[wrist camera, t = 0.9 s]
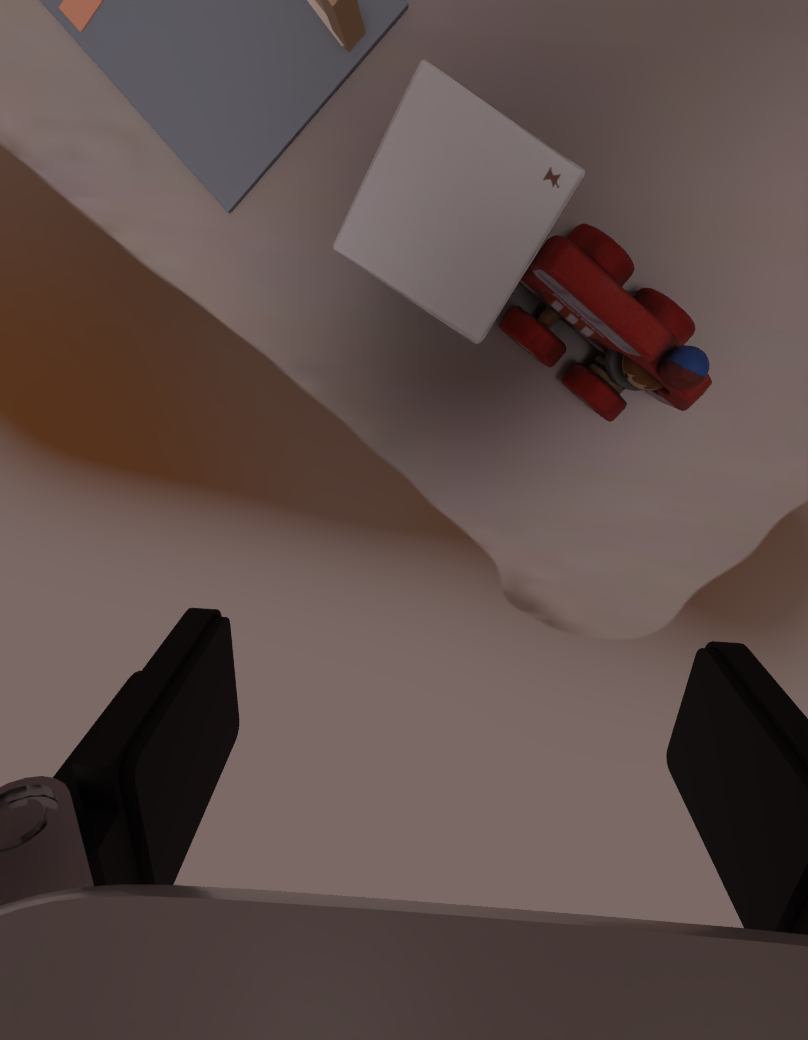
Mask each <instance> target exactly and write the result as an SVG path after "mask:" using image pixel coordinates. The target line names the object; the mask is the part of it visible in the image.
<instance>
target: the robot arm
mask: <svg viewBox="0 0 808 1040" xmlns="http://www.w3.org/2000/svg"><path fill="white" fill-rule="evenodd" d="M238 730H239V712H238V701H237V691H236V680H235V670H234V659H233V650H232V638H231V629H230V621H229V619H228V618H227V617H222V616H221V613H220V611H219V610H216V609H200V608H189V609H188V610H187V611H186V612H185V614H184V615H183V616H182V618H181V619H180V620H179V622H178V623H177V624H176V626H175V627H174V628H173V630H172V631H171V632H170V634H169V635H168V636H167V638H166V639H165V640H164V642H163V643H162V645H161V646H160V647H159V648H158V650H157V651H156V652H155V654H154V655H153V657H152V658H151V659H150V660H149V662H148V663H147V665H146V666H145V667H144V668H143V670H142V671H138V672H135V673H134V674H133V675H132V676H131V677H130V678H129V679H128V680H127V682H126V683H125V684H124V686H123V687H122V688H121V689H120V691H119V692H118V693H117V695H116V696H115V697H114V699H113V700H112V701H111V702H110V704H109V705H108V706H107V708H106V709H105V710H104V712H103V713H102V714H101V716H100V717H99V718H98V719H97V721H96V722H95V724H94V725H93V726H92V727H91V729H90V730H89V731H88V733H87V734H86V735H85V736H84V738H83V739H82V740H81V742H80V743H79V744H78V746H77V747H76V748H75V749H74V751H73V752H72V753H71V755H70V756H69V757H68V759H67V760H66V761H65V763H64V764H63V765H62V766H61V768H60V769H59V770H58V772H57V773H56V774H55V776H54V777H53V778H51V777H44V776H39V777H30V778H24V779H20V780H17V781H14V782H10V783H8V784H6V785H4V786H2V787H0V1040H808V719H807V717H806V716H805V715H804V714H803V713H802V711H801V710H800V709H799V708H798V707H797V706H796V704H795V703H794V702H793V701H792V700H791V698H790V697H789V696H788V695H787V694H786V693H785V691H784V690H783V689H782V688H781V687H780V686H779V684H778V683H777V682H776V681H775V680H774V679H773V677H772V676H771V675H770V674H769V673H768V671H767V670H766V669H765V668H764V667H763V666H762V664H761V663H760V662H759V661H758V660H757V658H756V657H755V656H754V655H753V654H752V652H751V651H750V650H749V649H748V648H747V647H746V646H745V645H744V644H741V643H728V642H713V641H712V642H709V643H708V644H707V645H706V647H705V648H701V649H699V650H698V651H697V653H696V656H695V659H694V662H693V666H692V669H691V672H690V676H689V679H688V682H687V686H686V689H685V693H684V696H683V699H682V702H681V706H680V709H679V712H678V716H677V719H676V722H675V726H674V729H673V732H672V736H671V739H670V742H669V746H668V749H667V764H668V768H669V771H670V773H671V775H672V777H673V780H674V781H675V784H676V786H677V788H678V790H679V792H680V794H681V796H682V798H683V801H684V803H685V805H686V807H687V809H688V811H689V813H690V815H691V817H692V819H693V821H694V823H695V826H696V828H697V830H698V832H699V834H700V836H701V838H702V840H703V842H704V845H705V847H706V849H707V851H708V853H709V855H710V857H711V859H712V861H713V864H714V865H715V867H716V870H717V872H718V874H719V876H720V878H721V880H722V882H723V885H724V887H725V889H726V891H727V893H728V895H729V897H730V899H731V901H732V903H733V905H734V908H735V910H736V912H737V914H738V916H739V918H740V920H741V922H742V924H743V927H744V928H733V927H722V926H710V925H699V924H687V923H675V922H664V921H652V920H640V919H629V918H616V917H605V916H594V915H593V916H592V915H580V914H569V913H556V912H544V911H532V910H519V909H506V908H494V907H481V906H469V905H456V904H442V903H430V902H417V901H405V900H390V899H378V898H364V897H349V896H337V895H336V896H335V895H322V894H310V893H296V892H282V891H269V890H253V889H235V888H217V887H198V886H180V885H173V884H174V882H175V880H176V877H177V875H178V873H179V870H180V868H181V866H182V863H183V861H184V859H185V856H186V854H187V852H188V849H189V847H190V845H191V843H192V840H193V838H194V836H195V833H196V831H197V829H198V826H199V824H200V822H201V819H202V817H203V815H204V812H205V810H206V807H207V806H208V803H209V801H210V798H211V796H212V794H213V792H214V789H215V787H216V785H217V782H218V780H219V778H220V775H221V773H222V771H223V769H224V766H225V764H226V762H227V759H228V757H229V755H230V752H231V750H232V748H233V745H234V743H235V741H236V738H237V734H238Z"/></svg>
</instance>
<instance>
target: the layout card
mask: <svg viewBox="0 0 808 1040" xmlns="http://www.w3.org/2000/svg"><path fill="white" fill-rule="evenodd" d="M40 1H41V2H42V3H43V4H44V6H45V7H46V8H47V9H48V10H49V11H50V12H51V13H52V15H53V16H54V17H55V18H56V19H57V20H58V21H59V22H60V24H61V25H62V26H63V27H64V28H65V29H66V30H67V31H68V33H69V34H70V35H71V36H72V37H73V38H74V39H75V41H76V42H77V43H78V44H79V45H80V46H81V47H82V48H83V50H84V51H85V52H86V53H87V54H88V55H89V56H90V57H91V59H92V60H93V61H94V62H95V63H96V64H97V65H98V67H99V68H100V69H101V70H102V71H103V72H104V73H105V74H106V76H107V77H108V78H109V79H110V80H111V81H112V82H113V83H114V85H115V86H116V87H117V88H118V89H119V90H120V91H121V92H122V94H123V95H124V96H125V97H126V98H127V99H128V100H129V102H130V103H131V104H132V105H133V106H134V107H135V108H136V109H137V111H138V112H139V113H140V114H141V115H142V116H143V117H144V118H145V120H146V121H147V122H148V123H149V124H150V125H151V126H152V127H153V129H154V130H155V131H156V132H157V133H158V134H159V135H160V137H161V138H162V139H163V140H164V141H165V142H166V143H167V144H168V146H169V147H170V148H171V149H172V150H173V151H174V152H175V153H176V155H177V156H178V157H179V158H180V159H181V160H182V161H183V163H184V164H185V165H186V166H187V167H188V168H189V169H190V170H191V172H192V173H193V174H194V175H195V176H196V177H197V178H198V179H199V181H200V182H201V183H202V184H203V185H204V186H205V187H206V188H207V190H208V191H209V192H210V193H211V194H212V195H213V196H214V198H215V199H216V200H217V201H218V202H219V203H220V204H221V205H222V207H223V208H224V209H225V210H226V211H227V212H228V213H231V212H232V210H233V209H234V208H235V207H236V206H237V205H238V203H239V202H240V201H241V200H242V199H243V198H244V197H245V195H246V194H247V193H248V192H249V191H250V190H251V188H252V187H253V186H254V185H255V184H256V183H257V182H258V180H259V179H260V178H261V177H262V176H263V175H264V173H265V172H266V171H267V170H268V169H269V168H270V167H271V165H272V164H273V163H274V162H275V161H276V160H277V158H278V157H279V156H280V155H281V154H282V153H283V152H284V150H285V149H286V148H287V147H288V146H289V145H290V143H291V142H292V141H293V140H294V139H295V138H296V137H297V135H298V134H299V133H300V132H301V131H302V130H303V128H304V127H305V126H306V125H307V124H308V123H309V122H310V120H311V119H312V118H313V117H314V116H315V115H316V113H317V112H318V111H319V110H320V109H321V108H322V107H323V105H324V104H325V103H326V102H327V101H328V100H329V98H330V97H331V96H332V95H333V94H334V93H335V92H336V90H337V89H338V88H339V87H340V86H341V85H342V83H343V82H344V81H345V80H346V79H347V78H348V77H349V75H350V74H351V73H352V72H353V71H354V70H355V68H356V67H357V66H358V65H359V64H360V63H361V62H362V60H363V59H364V58H365V57H366V56H367V55H368V53H369V52H370V51H371V50H372V49H373V48H374V47H375V45H376V44H377V43H378V42H379V41H380V40H381V38H382V37H383V36H384V35H385V34H386V33H387V32H388V30H389V29H390V28H391V27H392V26H393V25H394V23H395V22H396V21H397V20H398V19H399V18H400V17H401V15H402V14H403V13H404V12H405V11H406V10H407V8H408V4H407V2H406V1H405V0H40Z"/></svg>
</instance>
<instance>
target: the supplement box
mask: <svg viewBox="0 0 808 1040" xmlns="http://www.w3.org/2000/svg"><path fill="white" fill-rule="evenodd" d="M584 176H585V170H584V169H583V168H581V167H580V166H578V165H577V164H575V163H574V162H572V161H571V160H569V159H568V158H567V157H565V156H564V155H562V154H561V153H559V152H558V151H556V150H555V149H553V148H552V147H550V146H549V145H547V144H546V143H545V142H543V141H542V140H540V139H539V138H537V137H536V136H534V135H533V134H531V133H530V132H528V131H527V130H525V129H524V128H522V127H521V126H520V125H518V124H517V123H515V122H514V121H512V120H511V119H509V118H508V117H506V116H505V115H503V114H502V113H500V112H499V111H497V110H496V109H494V108H493V107H492V106H490V105H489V104H487V103H486V102H484V101H483V100H482V99H480V98H479V97H477V96H476V95H475V94H473V93H472V92H470V91H469V90H467V89H466V88H465V87H463V86H462V85H461V84H459V83H458V82H456V81H455V80H453V79H452V78H451V77H449V76H448V75H446V74H445V73H444V72H442V71H441V70H439V69H438V68H436V67H435V66H434V65H432V64H431V63H429V62H428V61H426V60H421V61H420V63H419V65H418V67H417V69H416V71H415V73H414V75H413V77H412V79H411V81H410V83H409V85H408V87H407V89H406V91H405V93H404V95H403V97H402V99H401V101H400V103H399V105H398V107H397V109H396V111H395V113H394V116H393V118H392V120H391V122H390V124H389V126H388V128H387V130H386V132H385V134H384V136H383V138H382V140H381V143H380V145H379V147H378V149H377V151H376V153H375V155H374V157H373V160H372V162H371V164H370V166H369V168H368V170H367V172H366V175H365V177H364V179H363V181H362V183H361V185H360V187H359V189H358V192H357V194H356V196H355V198H354V200H353V202H352V204H351V206H350V208H349V211H348V213H347V215H346V217H345V219H344V221H343V224H342V226H341V228H340V230H339V232H338V235H337V237H336V239H335V241H334V244H333V246H332V248H333V250H335V251H336V252H338V253H339V254H341V255H342V256H344V257H345V258H347V259H348V260H350V261H351V262H353V263H354V264H356V265H357V266H359V267H360V268H362V269H363V270H364V271H366V272H367V273H369V274H370V275H372V276H373V277H375V278H376V279H378V280H379V281H381V282H382V283H384V284H385V285H387V286H388V287H390V288H391V289H393V290H394V291H396V292H397V293H399V294H400V295H402V296H403V297H405V298H406V299H408V300H409V301H411V302H412V303H414V304H415V305H417V306H419V307H420V308H422V309H423V310H425V311H426V312H428V313H429V314H431V315H432V316H434V317H435V318H437V319H438V320H440V321H441V322H443V323H444V324H446V325H447V326H449V327H450V328H452V329H453V330H455V331H456V332H458V333H459V334H461V335H462V336H464V337H465V338H467V339H469V340H470V341H472V342H473V343H475V344H479V343H481V342H482V341H483V339H484V338H485V336H486V335H487V333H488V331H489V330H490V328H491V327H492V325H493V323H494V322H495V320H496V318H497V317H498V315H499V314H500V312H501V310H502V309H503V307H504V305H505V304H506V302H507V300H508V299H509V297H510V296H511V294H512V292H513V291H514V289H515V287H516V286H517V284H518V283H519V281H520V279H521V278H522V276H523V275H524V273H525V271H526V270H527V268H528V267H529V265H530V264H531V262H532V261H533V259H534V258H535V256H536V254H537V252H538V250H539V248H540V247H541V245H542V243H543V242H544V240H545V238H546V237H547V235H548V234H549V232H550V230H551V229H552V227H553V225H554V224H555V222H556V221H557V219H558V217H559V216H560V214H561V213H562V211H563V209H564V208H565V206H566V204H567V203H568V201H569V200H570V198H571V196H572V195H573V193H574V192H575V190H576V188H577V187H578V185H579V184H580V182H581V181H582V179H583V177H584Z"/></svg>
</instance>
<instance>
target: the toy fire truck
mask: <svg viewBox="0 0 808 1040" xmlns="http://www.w3.org/2000/svg"><path fill="white" fill-rule="evenodd" d="M633 271H634V265H633V262H632V260H631V258H630V257H629V255H628V254H627V253H626V251H625V250H624V249H622V248H621V246H619V245H618V244H617V243H616V242H615V241H614V240H613V239H612V238H610V237H609V236H608V235H606V234H605V233H603V232H602V231H600V230H599V229H597V228H595V227H593V226H590V225H587V224H581V225H578V226H577V227H576V228H575V229H574V230H573V232H572V233H571V234H570V235H569V237H568V238H567V239H566V238H564V237H562V236H554V237H551V238H549V239H548V240H547V241H546V242H545V244H544V245H543V247H542V248H541V249H540V251H539V252H537V254H536V256H535V258H534V259H533V261H532V262H531V264H530V265H529V267H528V268H527V270H526V271H525V273H524V275H523V276H522V278H521V279H520V282H521V283H522V284H523V285H524V286H525V287H526V288H527V289H528V290H529V291H531V292H532V293H533V294H534V295H535V296H536V297H537V298H539V299H540V300H541V301H542V302H543V303H544V305H546V306H547V308H546V309H545V310H544V311H543V312H542V313H541V315H540V316H539V317H538V318H537V319H536V318H534V317H532V316H531V315H530V314H528V313H527V312H525V311H523V310H522V309H521V308H520V307H518V306H513V307H512V308H511V309H510V310H509V312H508V313H507V314H506V315H505V317H504V318H503V319H502V321H501V323H500V328H501V329H502V330H503V331H504V332H505V333H506V334H507V335H509V336H510V337H511V338H512V339H513V340H514V341H516V342H517V343H518V344H519V345H521V346H522V347H523V348H524V349H526V350H527V351H528V352H529V353H530V354H532V355H533V356H534V357H535V358H537V359H538V360H539V361H541V362H542V363H543V364H544V365H546V366H548V367H552V366H554V365H555V364H556V363H557V361H558V360H559V359H560V358H561V357H562V355H563V354H564V353H565V352H566V346H565V344H564V343H563V342H562V341H561V340H560V339H559V338H558V337H557V336H556V335H555V334H554V333H553V332H551V331H550V328H551V327H552V326H553V324H554V323H555V322H556V321H557V320H558V318H559V317H560V318H562V319H563V320H564V321H565V322H566V323H568V324H569V325H570V326H571V327H572V328H573V329H575V330H576V331H577V332H578V333H579V334H580V335H582V336H583V337H584V338H585V339H586V340H587V341H589V342H590V343H591V344H592V345H593V346H595V347H596V348H597V349H598V350H600V351H601V352H602V353H603V355H602V356H598V357H597V358H596V359H595V360H594V361H593V363H592V364H590V366H589V367H586V366H584V365H583V364H581V363H575V364H574V365H573V366H572V367H571V368H570V370H569V371H568V372H567V373H566V374H565V375H564V377H563V379H562V383H563V384H564V385H565V386H566V387H567V388H568V389H569V390H570V391H571V392H573V393H574V394H575V395H576V396H577V397H578V398H579V399H581V400H582V401H583V402H584V403H586V404H587V405H588V406H589V407H590V408H592V409H593V410H594V411H595V412H597V413H598V414H599V415H600V416H602V417H603V418H604V419H606V420H607V421H613V420H614V419H615V418H616V417H617V416H618V415H619V414H620V413H621V412H622V411H623V410H624V409H625V407H626V405H627V403H626V401H625V400H624V399H623V398H622V397H621V396H620V393H621V392H622V391H623V390H624V389H628V390H637V391H638V390H646V391H647V392H648V393H649V394H650V395H652V396H653V397H654V398H656V399H657V400H659V401H660V402H662V403H664V404H667V405H670V406H672V407H674V408H677V409H679V410H681V411H685V410H687V409H688V408H689V407H690V406H691V405H692V404H693V403H694V402H695V401H697V400H698V399H699V398H700V397H701V396H702V395H703V394H704V392H705V391H706V390H707V388H708V387H709V386H710V385H711V383H712V381H711V378H710V377H709V375H708V371H709V361H708V358H707V356H706V354H705V353H704V352H703V351H702V350H700V349H699V348H697V347H694V346H685V345H684V344H685V343H686V342H687V341H688V340H689V338H690V337H691V336H692V335H693V334H694V331H695V325H694V322H693V321H692V319H691V318H690V316H689V315H688V314H687V313H686V312H685V311H684V310H683V309H682V308H680V307H679V306H678V305H677V304H676V303H675V302H674V301H672V300H671V299H670V298H668V297H667V296H665V295H664V294H662V293H660V292H658V291H656V290H654V289H650V288H642V289H640V290H639V291H638V292H637V293H636V294H635V296H634V297H632V296H631V295H630V294H629V293H628V292H627V291H626V290H624V289H623V288H622V286H623V284H624V283H625V282H626V281H627V280H628V279H629V277H630V276H631V275H632V273H633Z"/></svg>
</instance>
